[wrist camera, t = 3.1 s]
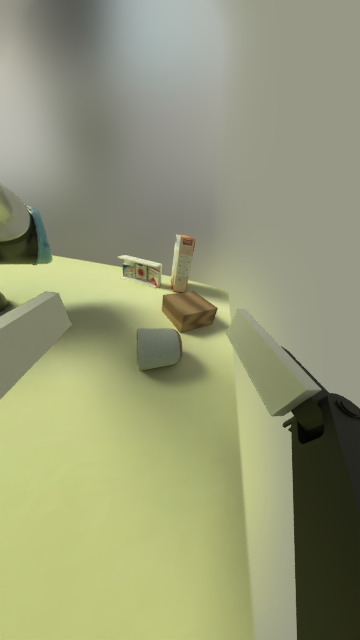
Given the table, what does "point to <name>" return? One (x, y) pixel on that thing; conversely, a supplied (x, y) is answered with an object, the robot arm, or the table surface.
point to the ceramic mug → (158, 348)
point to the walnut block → (188, 310)
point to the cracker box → (182, 262)
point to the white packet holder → (141, 271)
